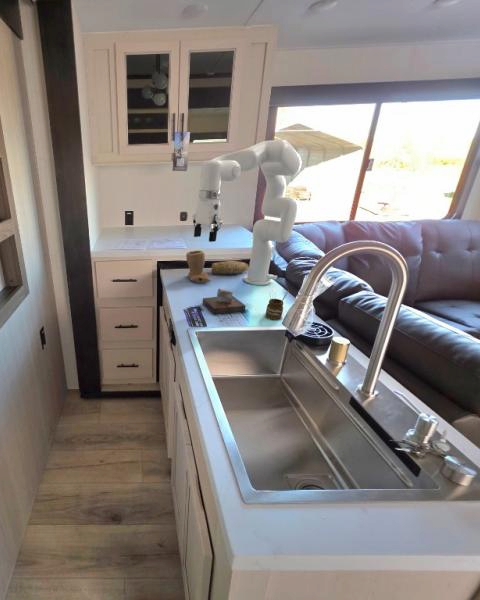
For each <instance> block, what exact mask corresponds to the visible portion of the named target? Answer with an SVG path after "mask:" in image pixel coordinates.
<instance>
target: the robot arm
mask: <svg viewBox="0 0 480 600" xmlns="http://www.w3.org/2000/svg"><path fill="white" fill-rule="evenodd" d="M259 166H260V170H261V172H262V174H263V176H264V179H265V184H266V185H265V191H264V195H263V200H262V204H261V209H260V212H261V214H262V215H263V216H265V217H268V219H266V218H262V219H259V220H256V221H255V223H254V224H253V226H252V246H251V253H250V259H249V264H248V269H247V275H245V276H244V277H243V281H244V282H245V283H247V284H249V285H255V286H266V285H269V284H270V282H271V280H278V275H274V274H269V272H270V271H269V270H270V264H271V260H272V259H271V258H272V254H273V244H272V242H275V243H279V244H280V243H281V244H282V243H283V244H284V243H286V242H288V241H289V240H290V238H291V236H292V232H293V229H294V226H295V222H296V219H297V215H298V211H299V202H298V200H297V199H296V198H294V197H290V196H289V197H288V196H285V192H286V189H287V182H286V178H285V177H287V176H288V177H292V176H295V175H296V174H298V173H299V171H300V170H301V167H302V159H301V156H300V154H299V153H298V151H296V149H295V148H294V147H293V145H292V144H291V143H290V142H289V141H287V140H286V139H272V140H263V141H260V142H257V143H256V144H253V145H251V146H249V147H247V148H244V149H241V150H237V151H234V152H229V153H226V154H222V155H219V156H216V157H215V158H212V159H210V160H204V161H203V162H202V164H201V172H200V181H199V182H200V183H199V193H198V200H197V204H196V210H195V213H194V214H192V223H193V229H194V231H193V237H194V238H200V237H201V236H202V230H203V229H202V226H207V227H209V229H210V231H209V234H208V242H209V243H213V242H217V235H218V232H219V230H220V229H221V227H222V225H223V220H222V219H221V200H220V192H221V191H220V190H221V182H232V181H235V180H237V179H238V177H239V176H240V175H241V173H244V172H247V171H251V170H254V169H255V168H257V167H259ZM284 176H285V177H284ZM269 218H275V219H280V221H279V220H274V219H269Z"/></svg>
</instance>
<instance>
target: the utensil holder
mask: <svg viewBox="0 0 480 600" xmlns="http://www.w3.org/2000/svg"><path fill="white" fill-rule="evenodd" d="M272 292H273V295H276V292H275V290H273V289H272V290H271V291H269V296H271V294H272ZM288 292H289V290H287V291H286V293H285V295H283V298H282V299H279V298H276V297H273V298H272V297H269V300H268V303H267V305H266V309H265V317H266V318H268V319H270V320H273V321H278V320H281V319H282V316H283V312H284V300H285V298H286V297H287V294H288Z"/></svg>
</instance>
